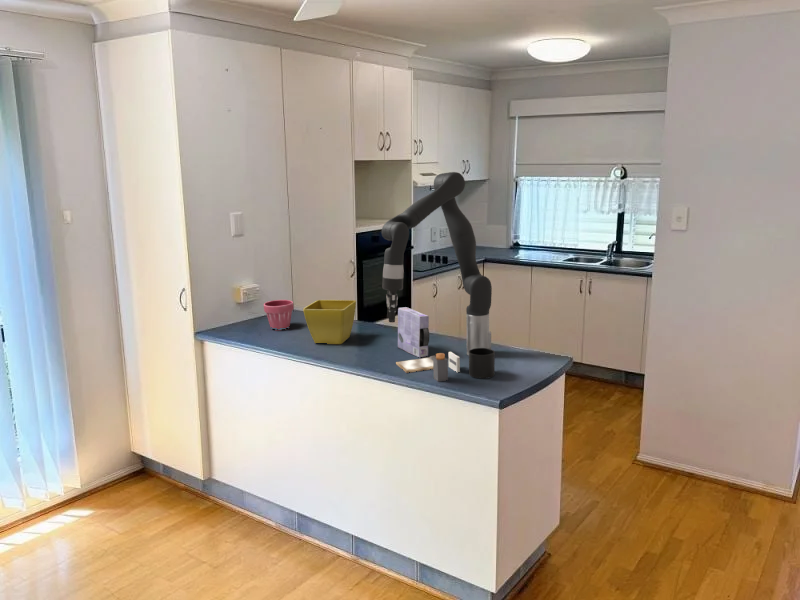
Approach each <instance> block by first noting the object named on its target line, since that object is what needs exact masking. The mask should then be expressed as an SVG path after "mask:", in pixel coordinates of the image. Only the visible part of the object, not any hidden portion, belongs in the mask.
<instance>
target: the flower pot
mask: <svg viewBox="0 0 800 600" xmlns="http://www.w3.org/2000/svg"><path fill="white" fill-rule="evenodd" d="M356 308H357V300H352V299H350V300H349V299H317V300H316V301H313V302H312V303H310V304H309V305H307V306H305V307H304V308H303V309H302V311H303V314H304V315H303V316H304V319H305V322H306V325H307V328H308V330H309V334H310V335H311V337H312V340H313V342H314V344H316V343H327V344H326V345H342V344H343V343H345V342H346V340H348V339H349V338H350V336H351V333H352V330H353V325H354V321H355V316H356V315H355V314H356Z"/></svg>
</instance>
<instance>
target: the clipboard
mask: <svg viewBox="0 0 800 600" xmlns="http://www.w3.org/2000/svg"><path fill="white" fill-rule="evenodd" d="M435 357H436V355H431V356H429V357H422V358H417V359H409V360H402V361H396V362H395V364H396V366H397V367H399V368H400V369H401V370H402V369H403V371H404V372H405V373H406V374H408V373H409V372H410V373H415V372H416V371H417V372H422V371H423V370H424V371H428V370H430V369H431V370H433V358H435ZM410 373H409V374H410Z"/></svg>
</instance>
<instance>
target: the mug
mask: <svg viewBox="0 0 800 600" xmlns="http://www.w3.org/2000/svg"><path fill="white" fill-rule="evenodd" d="M495 354H496V353H495V350H494V349H492V348H491V349H488V348H475V349H471V350H470V351H469V356H468V374H469V376H470V377H471V378H474V379H483V380H484V379H489V378H493V377H494V376H495V371H496V370H495V366H496V365H495V364H496V362H495V361H496V360H495V356H496V355H495Z"/></svg>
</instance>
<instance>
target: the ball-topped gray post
mask: <svg viewBox="0 0 800 600" xmlns="http://www.w3.org/2000/svg"><path fill="white" fill-rule="evenodd" d="M445 354H446V353H444V352H439V353H435V358H433V369H432V371H433V379H434V380H435V381H436V382H437V383H438V382H440V383H441V382H446V380H447V381H449V373H448V372H449V358H447V357H445V356H446V355H445Z"/></svg>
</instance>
